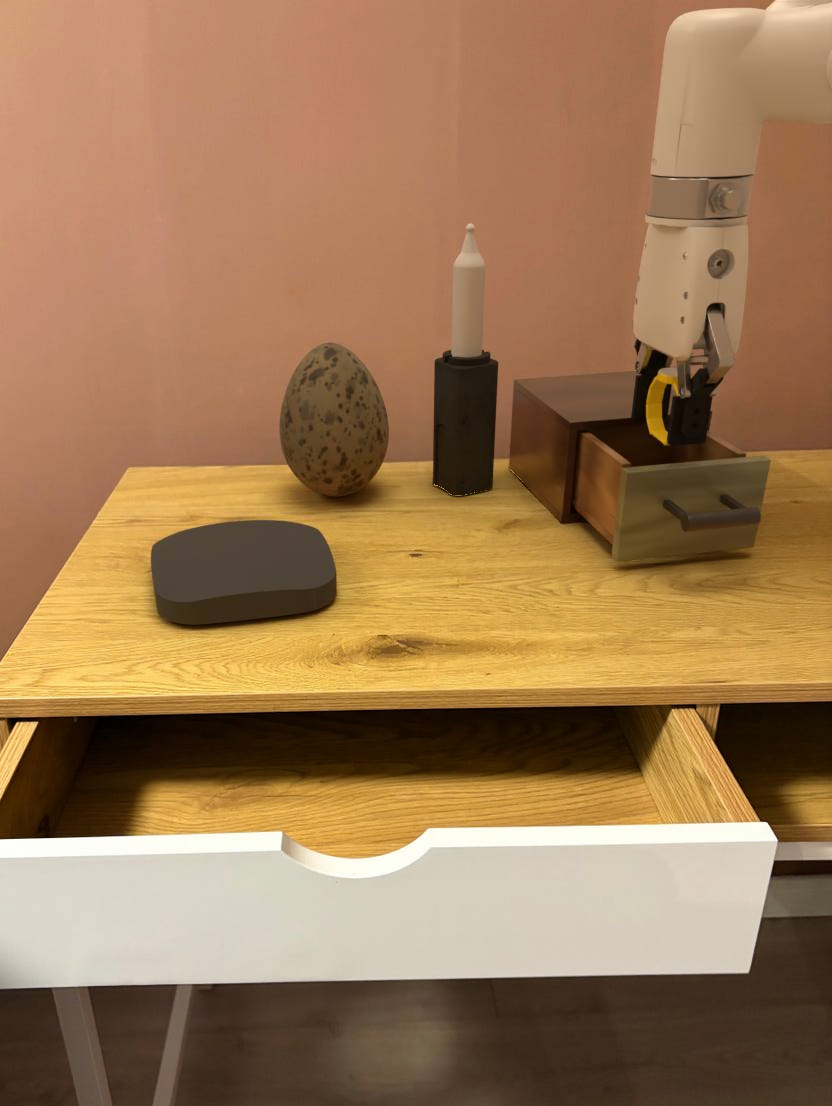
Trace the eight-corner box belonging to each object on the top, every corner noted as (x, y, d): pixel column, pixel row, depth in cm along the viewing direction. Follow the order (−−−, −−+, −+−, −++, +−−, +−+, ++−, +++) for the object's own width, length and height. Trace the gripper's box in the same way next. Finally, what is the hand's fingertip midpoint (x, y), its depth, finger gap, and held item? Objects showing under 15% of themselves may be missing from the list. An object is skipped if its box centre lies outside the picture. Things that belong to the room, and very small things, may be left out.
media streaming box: (156, 634, 74) (152, 599, 72) (153, 557, 86) (149, 526, 85) (346, 613, 76) (344, 578, 75) (315, 541, 89) (314, 510, 87)
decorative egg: (266, 488, 101) (255, 340, 94) (357, 469, 105) (354, 326, 98) (312, 521, 93) (304, 362, 85) (409, 499, 97) (409, 346, 90)
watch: (634, 431, 86) (642, 363, 83) (663, 429, 86) (673, 361, 83) (666, 452, 81) (676, 380, 78) (697, 450, 81) (708, 378, 78)
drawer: (786, 571, 79) (806, 479, 75) (642, 587, 77) (654, 493, 73) (675, 489, 95) (686, 411, 91) (554, 500, 93) (561, 420, 90)
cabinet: (697, 510, 93) (712, 411, 88) (561, 523, 91) (569, 422, 86) (628, 458, 106) (638, 370, 101) (508, 469, 104) (513, 379, 100)
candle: (428, 483, 101) (431, 223, 89) (469, 474, 103) (478, 219, 91) (454, 498, 97) (462, 228, 85) (497, 489, 99) (510, 223, 87)
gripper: (808, 209, 67) (761, 460, 76) (689, 190, 82) (662, 401, 91) (707, 214, 66) (672, 467, 75) (605, 194, 81) (586, 407, 90)
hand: (666, 429), depth 83 cm, fingers closed on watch, 6 cm apart
